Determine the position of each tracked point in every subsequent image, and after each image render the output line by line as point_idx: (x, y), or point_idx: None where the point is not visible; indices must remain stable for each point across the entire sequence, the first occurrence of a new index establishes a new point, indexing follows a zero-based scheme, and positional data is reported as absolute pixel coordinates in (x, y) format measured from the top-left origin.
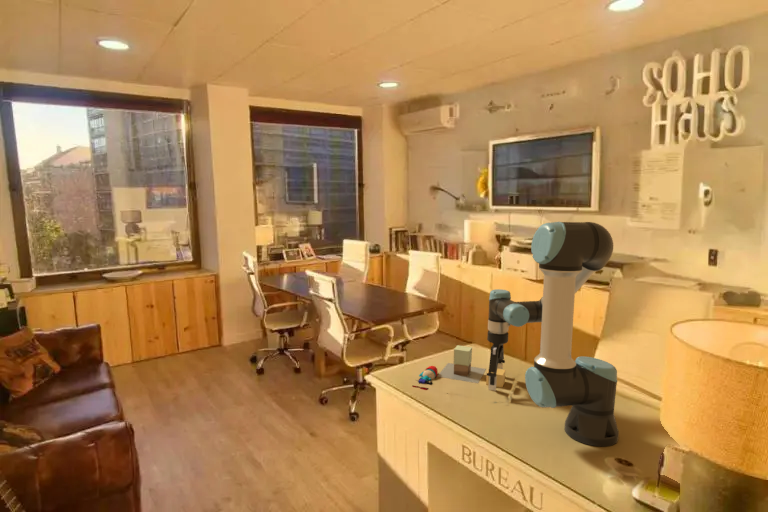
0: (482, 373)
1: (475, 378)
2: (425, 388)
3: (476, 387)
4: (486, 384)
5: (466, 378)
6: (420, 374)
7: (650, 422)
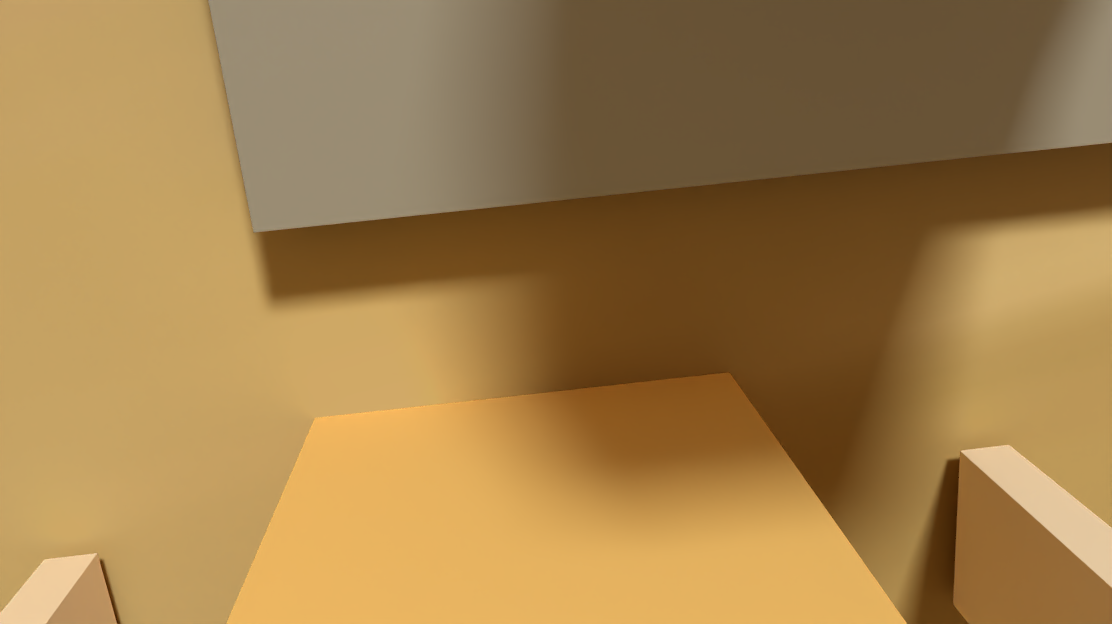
0: (1097, 111)
1: (590, 35)
2: None
3: (184, 198)
4: (297, 472)
5: None
6: None
7: None
